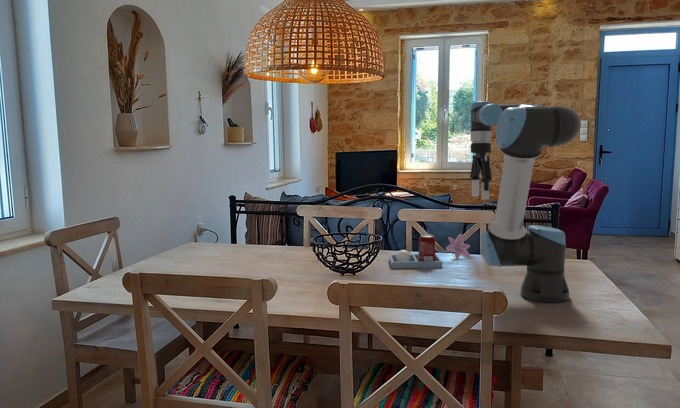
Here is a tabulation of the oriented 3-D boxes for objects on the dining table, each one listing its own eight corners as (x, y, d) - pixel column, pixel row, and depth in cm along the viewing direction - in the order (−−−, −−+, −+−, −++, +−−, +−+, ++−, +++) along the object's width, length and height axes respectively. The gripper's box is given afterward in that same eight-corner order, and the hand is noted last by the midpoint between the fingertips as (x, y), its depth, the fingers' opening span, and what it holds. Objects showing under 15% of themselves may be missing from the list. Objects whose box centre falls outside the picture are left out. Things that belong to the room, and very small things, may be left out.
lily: (440, 261, 230) (448, 244, 225) (440, 246, 240) (447, 229, 235) (466, 269, 230) (475, 252, 225) (465, 253, 240) (473, 237, 235)
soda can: (434, 266, 216) (435, 237, 214) (418, 265, 217) (418, 236, 215) (435, 262, 222) (435, 234, 221) (419, 261, 224) (419, 233, 222)
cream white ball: (411, 265, 217) (411, 251, 216) (396, 265, 217) (396, 251, 216) (409, 262, 223) (409, 248, 222) (395, 262, 223) (395, 248, 222)
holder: (442, 268, 213) (442, 261, 213) (392, 269, 213) (391, 262, 213) (436, 260, 226) (436, 254, 226) (389, 261, 227) (389, 254, 226)
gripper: (501, 141, 189) (500, 200, 191) (481, 142, 213) (480, 194, 216) (480, 142, 188) (479, 200, 191) (462, 143, 213) (462, 195, 215)
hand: (480, 197), depth 203 cm, fingers open, 13 cm apart
